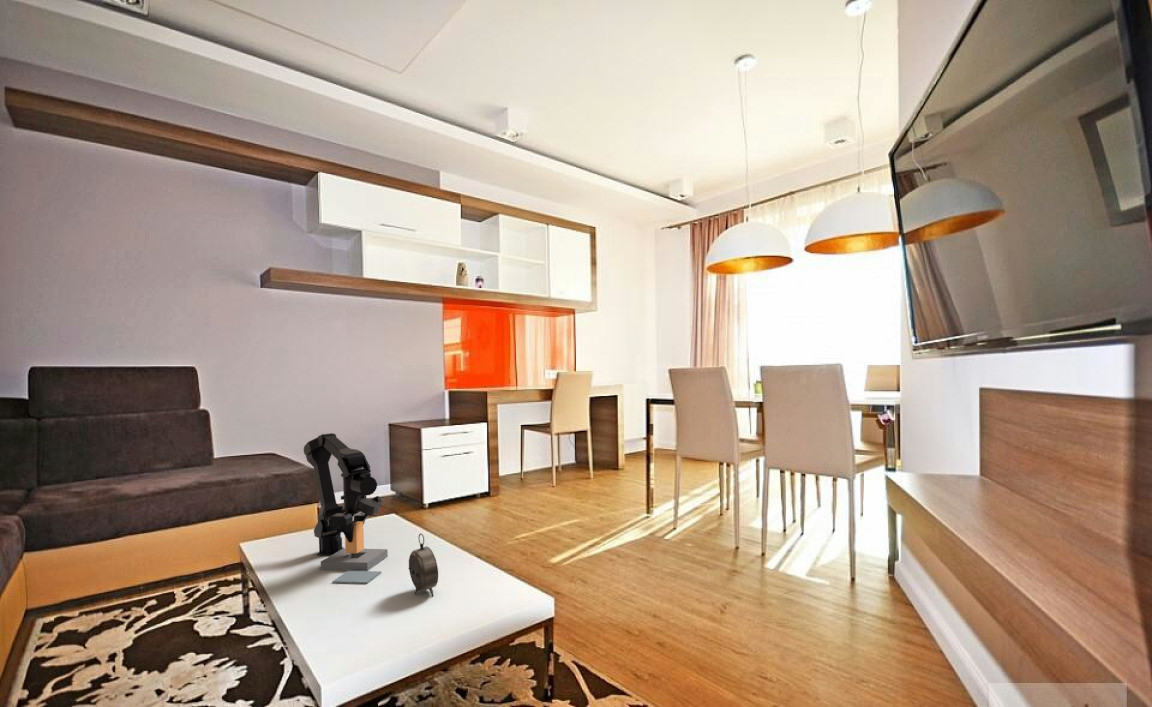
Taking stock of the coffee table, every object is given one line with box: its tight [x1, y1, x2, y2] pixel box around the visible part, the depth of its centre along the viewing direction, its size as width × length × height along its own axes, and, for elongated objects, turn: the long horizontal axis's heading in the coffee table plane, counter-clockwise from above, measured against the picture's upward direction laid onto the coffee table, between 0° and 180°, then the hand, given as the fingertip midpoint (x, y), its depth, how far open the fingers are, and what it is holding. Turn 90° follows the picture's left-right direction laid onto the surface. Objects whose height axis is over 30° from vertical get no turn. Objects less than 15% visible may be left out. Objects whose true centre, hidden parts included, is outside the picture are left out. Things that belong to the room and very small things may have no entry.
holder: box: [320, 547, 389, 571], centre depth 169 cm, size 16×12×2 cm
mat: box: [332, 570, 382, 585], centre depth 156 cm, size 11×8×1 cm
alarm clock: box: [408, 533, 439, 597], centre depth 144 cm, size 11×5×16 cm, turn 38°
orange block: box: [344, 521, 365, 553], centre depth 169 cm, size 4×4×9 cm
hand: (354, 539), depth 169 cm, fingers closed on orange block, 4 cm apart
